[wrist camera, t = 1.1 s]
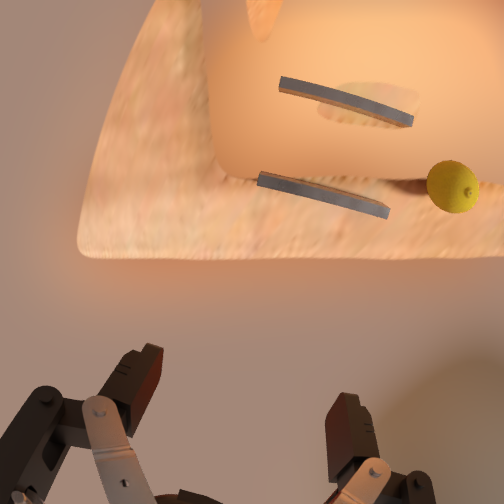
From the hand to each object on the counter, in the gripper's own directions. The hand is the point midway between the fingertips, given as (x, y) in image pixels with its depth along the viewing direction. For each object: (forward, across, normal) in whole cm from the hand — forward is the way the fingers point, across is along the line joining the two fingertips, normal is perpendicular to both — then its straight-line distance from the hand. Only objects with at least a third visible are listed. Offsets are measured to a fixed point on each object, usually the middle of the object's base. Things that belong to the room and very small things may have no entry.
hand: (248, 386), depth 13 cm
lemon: (+25, -17, -11) cm, 32 cm away
